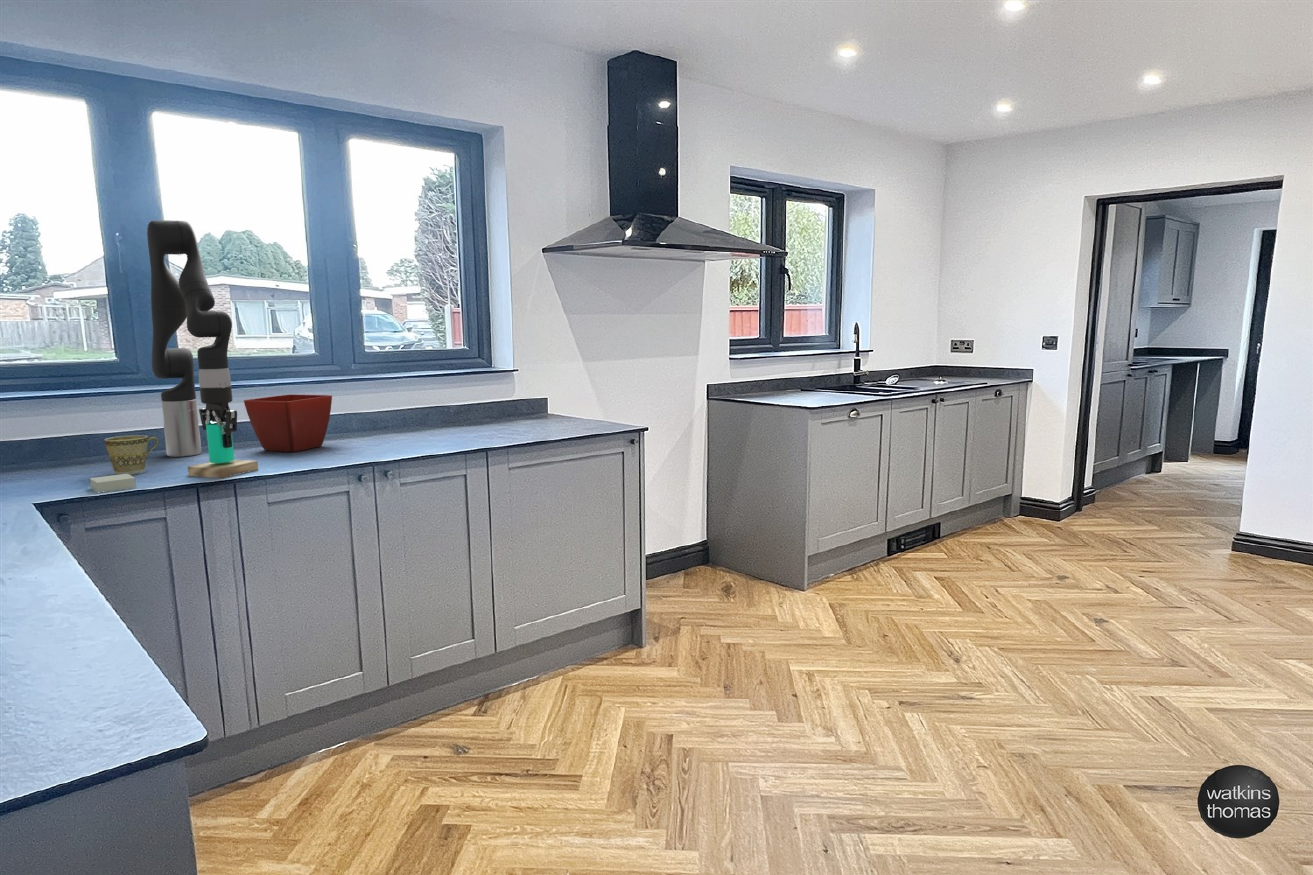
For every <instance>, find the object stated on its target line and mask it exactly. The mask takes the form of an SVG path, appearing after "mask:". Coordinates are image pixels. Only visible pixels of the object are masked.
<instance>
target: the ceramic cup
mask: <svg viewBox="0 0 1313 875" xmlns="http://www.w3.org/2000/svg"><path fill="white" fill-rule="evenodd" d="M152 439H153V440H155V444H154V445H153V446H152V447H150V449H149V450H148V443H149V442H150V441H151V440H152ZM103 441H104V445H105V448H106V451H107V454H108V455H109V460H110V463H111V465H112V469H113V472H114V475H120V474H129V475H131V476H135V475H141V474H142V473H145V471H146V460H147V456H148V455H149V454H150V453H151V452H152V451H153V449H155V448H156V447H157V446H158V444H159V439H158V438H157V437H155V436H150V437H149V436H148V435H146V434H145V435H144V434H143V435H142V434H133V435H131V434H130V435H118V436H112V437H107V438H105V439H103Z"/></svg>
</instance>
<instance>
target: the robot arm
mask: <svg viewBox="0 0 1313 875" xmlns="http://www.w3.org/2000/svg"><path fill="white" fill-rule="evenodd" d="M146 236H147V244H148V246H147V247H148V254H149V265H150V280H151V281H150V287H151V288H150V307H151V308H150V309H151V310H150V311H151V320H152V323H151V324H152V346H151V347H152V348H151V369H152V372H153V375H154V376H155V377H156V378H157V379H161V380H162V379H163V380H164V379H165V380H166V379H181V381H180V382H179V383H177V385H175V386H174V387H171V388H167V389H166V390H162V392H161V393H160V398H161V406H162V415H163V416H162V418H163V423H164V424H163V432H164V441H165V450H166V455H167V457H172V458H173V457H176V458H177V457H188V456H195V455H201V454H202V453H201V452H202V444H201V443H202V441H201V434H200V432H201V431H200V426H199V425H200V423H201V428H202V429H203V431H206V424H208V425H218V426H219V427H220V429H221V432H222V434H223V435H222V441H223V447H224V448H229V447H232V440H233V433H234V432H237V431H238V430H237V428H238V426H237V425H238V411H237V410H236V409H235V410H231V409H230V406H229V403H231V402H233V391H232V390H233V389H232V383H231V382H232V381H231V373H230V370H229V360H228V351H229V350H228V349H229V343H230V337H231V333H232V328H233V321H232V318H231V317H230V315H229V314H228V313H227V312H226V311H223V310H212V309H213V308H214V307H215V305H216V300H215V297H214V295H213V292H212V290H211V288H210V285H209V283H208V280H207V277H206V274H205V270H204V265H203V262H202V261H203V260H202V256H201V253H200V249H199V245H198V240H197V237H196V234H195V231H194V229H193V227H192V225H191V223H190V222H188V221H185V220H171V219H170V220H169V219H167V220H165V219H164V220H161V219H158V220H151V221H149V222H148V224H147V232H146ZM166 255H186V262H185V265H184V266H183V269H182V271H181V273H180V275H179V277H178V278H179V279H178V278H177V277H176V276H175V275H174V274H173V272H172V271H171V270H170V269H169V266H168V265H167V263H166V259H165V256H166ZM185 321H186V328H187V329H186V330H187V331H188V332H189V334H190V335H191V336H193V337H194V338H215V340H214V342H213V343H211V344H210V345H205V346H201V347H200V348H198V349H197V363H198V364H197V365H198V383H199V384H198V385H199V393H200V394H199V396H200V402H201V403H202V404H203V405H205V407H203V408H202V407H201V408H199V409H198V405H197V396H196V385H195V366H194V365H195V364H194V363H195V362H194V355H193V352H192V351H191V349H189V348H187V347H175V348H174V347H173V348H172V347H170V348H167V346H168V344H169V342H170V341H171V340H170V339H171V338H172V337H173V335H174V334H175V333H176V332H177V331H178V330H179V329H180V327H181V326H182V325H183V324H184V322H185ZM198 412H199V413H198ZM199 417H200V423H199ZM222 422H224V423H222ZM224 426H226V429H225V427H224ZM231 434H232V436H231Z"/></svg>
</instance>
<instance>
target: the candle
mask: <svg viewBox="0 0 1313 875" xmlns="http://www.w3.org/2000/svg"><path fill="white" fill-rule="evenodd" d="M222 423H224V422H222ZM224 427H225V429H226V426H224ZM205 431H206V438H207V439H206V440H207V449H208V458H209V462H210V463H225V462H231V461H234V460H235V452H234V442H233V439H232V447H229V448H224V447H223V441H222V435H223V434H222V432H221V429H220V427H219V426H218V425H208V424H206V430H205ZM231 436H232V437H233V433H232V434H231Z"/></svg>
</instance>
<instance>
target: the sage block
mask: <svg viewBox="0 0 1313 875" xmlns="http://www.w3.org/2000/svg"><path fill="white" fill-rule="evenodd" d="M89 481H90V488H92V490H93V489H94V490H95V491H94V490H93V491H94V492H96V491H97V492H103V491H111V492H114V491H113V490H118V491H121V490H120V489H125V490H128V489H127V488H132V489H135V488H134V487H136V488H137V483H136V477H134V475H129V474H120V475H116V474H113V475H105V476H104V475H103V476H99V477H97V476H96V477H89ZM97 492H96V493H97ZM103 493H104V492H103Z"/></svg>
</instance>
